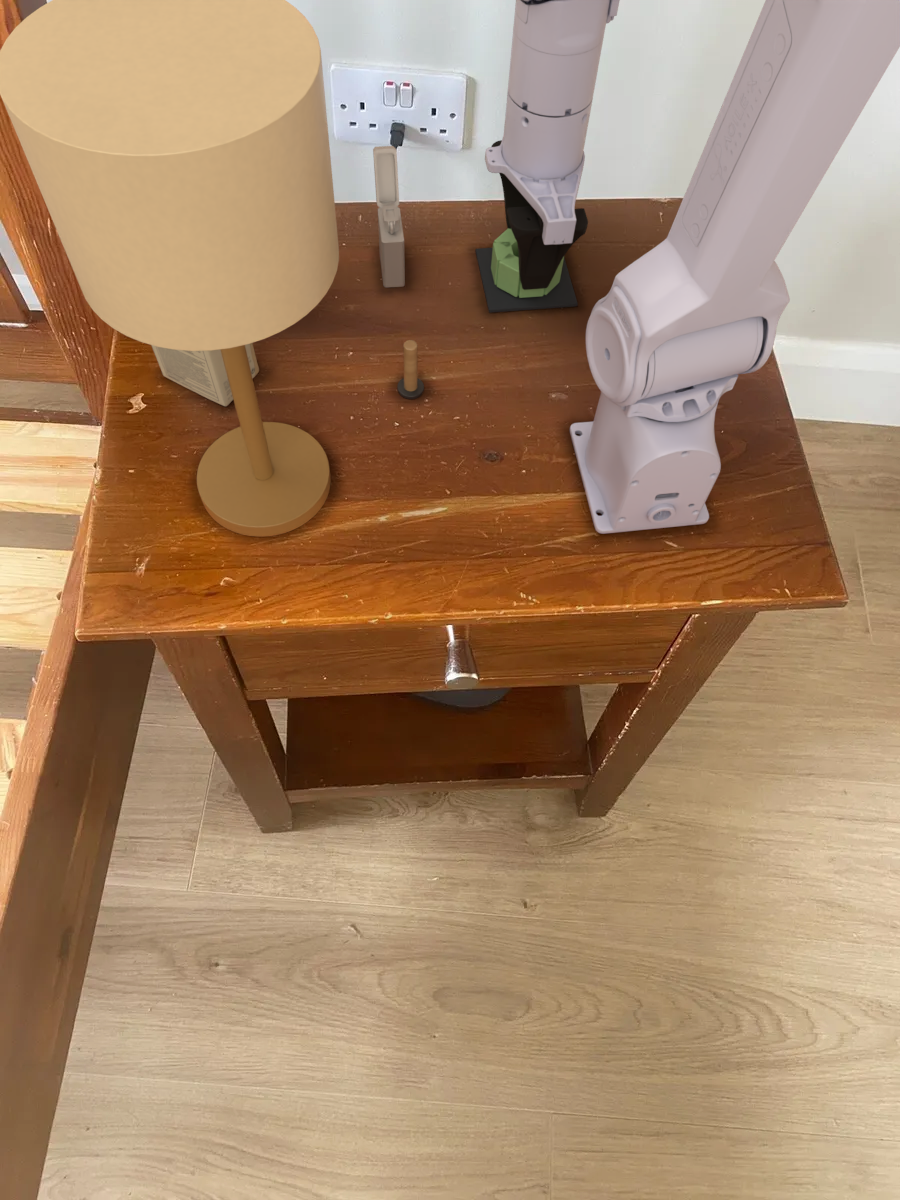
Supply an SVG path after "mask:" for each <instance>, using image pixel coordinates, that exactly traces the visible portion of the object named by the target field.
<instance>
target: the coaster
mask: <svg viewBox="0 0 900 1200" xmlns="http://www.w3.org/2000/svg"><path fill="white" fill-rule="evenodd" d="M492 250H493V247H481V248H479V247H478V248H475V251H474V252H475V256H476V261H477V265H478V269H479V273H480V278H481V283H482V287H483V291H484V292H483V293H484V297H485V300H486V305H487V310H488V313H489V314H490V313H491V314H492V313H502V312H503V313H505V312H516V311H517V312H518V311H531V310H533V311H534V310H544V309H545V310H546V309H558V308H559V309H560V308H572V307H573V308H574V307H578V300H577V296H576V292H575V289H574V286H573V283H572V280H571V275H570V272H569V269H568V265H567V262H566V258H565V257H564V260H563V266H562V271H561V277H560V281H559V283H558V284H557V285H556V286H555V287H554V288H553V289H552V290H551V291H550V292H549V293H548V294H547V295H543V296H541V297H527V298H519V295H518V296H517V297H515V296H513V295H511V294H509V293H507V292H506V291H504V290H502V289H500V288H498V287H497V285H495V284H494V279H493V275H492V271H491V261H492Z"/></svg>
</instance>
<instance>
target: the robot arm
mask: <svg viewBox="0 0 900 1200" xmlns="http://www.w3.org/2000/svg"><path fill="white" fill-rule="evenodd" d="M620 1H621V0H515V5H514V6H515V7H514V17H513V28H512V36H511V37H512V38H511V47H510V48H511V50H510V58H509V69H508V71H509V72H508V82H507V93H506V103H505V116H504V126H503V136H502V139H500V140H497V141H495V142H493V143H492V144H491V146H489V147H487V148H486V149H485V152H484V161H485V166H486V170H487V171H488V172H489V173H491V174H499V177H500V180H501V186H502V192H503V202H504V213H505V221H506V228H507V229H508V228H509V229H512V232H513V234H514V237H515V239H516V241H517V245H518V257H519V275H520V280H521V285H522V288H523V289H524V290H529V289H543V288H547V287H548V286H549V284H550V282H551V280H552V278H553V276H554V274H555V272H556V270H557V268H558V266H559V264H560V262H561V260H562V259H563V257H564V258H565V255H566V254H567V252H568V251H569V249H570V248H571V247H572V246H573V245H574V244H575V243H576V242H577V241H578V240H579V239H580V238H582V237H583V236H584V235H585V234H586V233H587V232H586V231H587V229H588V225H589V219H588V216H587V213H586V209H585V208H583V207H582V208H575V207H576V202H577V199H578V198H577V197H578V193H579V189H580V185H581V180H582V174H583V171H584V166H585V158H586V155H585V151H584V150H585V144H586V138H587V133H588V128H589V122H590V116H591V111H592V106H593V99H594V94H595V89H596V84H597V83H596V82H597V76H598V71H599V65H600V62H601V61H600V60H601V55H602V49H603V43H604V39H605V33H606V26H607V24H609V23H611V21H612V22H613V20H614V19H615V17H616V16H617V15H618V11H619V5H620ZM899 49H900V0H765V1H764V3H763V6H762V8H761V11H760V13H759V15H758V18H757V20H756V22H755V25H754V28H753V29H752V32H751V35H750V37H749V39H748V41H747V44H746V47H745V49H744V52H743V54H742V56H741V59H740V61H739V64H738V66H737V67H736V70H735V73H734V75H733V78H732V80H731V82H730V85H729V86H728V89H727V90H728V91H727V92H726V94H725V97H724V99H723V102H722V105H721V107H720V109H719V112H718V114H717V116H716V118H715V121H714V123H713V126H712V128H711V131H710V133H709V135H708V138H707V140H706V143H705V145H704V148H703V150H702V153H701V155H700V157H699V159H698V161H697V164H696V167H695V169H694V172H693V174H692V176H691V179H690V180H689V184H688V186H687V188H686V191H685V193H684V196H683V198H682V200H681V203H680V205H679V207H678V210H677V213H676V215H675V217H674V220H673V222H672V224H671V227H670V228H669V232H668V234H667V236H666V238H665V239H664V240H663V241H661V242H660V243H658V244H657V245H656V246H655V247H653V248H651V249H650V250H649V251H648V252H645V253H644V254H643V255H642V256H640V257H638V258H637V259H636V260H634V261H633V262H631V263H630V264H628V265H627V266H626V267H625V268H624V269H622V270H620V272H618V273H617V274H616V275H615V277H614V279H613V281H612V285H611V287H610V290H609V291H608V293H607V294H606V295H605V296H604V297H602V298H601V299H598V300H597V301H596V303H595V304H594V306H593V307H592V309H591V312H590V316H589V318H588V320H587V323H586V328H585V350H586V358H587V363H588V366H589V371H590V372H591V375H592V378H593V380H594V383H595V385H596V386H597V388H598V389H599V390H600V394H599V399H598V403H597V406H596V410H595V414H594V417H593V421H581V422H573V423H572V424H571V425H570V426H569V434H570V438H571V443H572V446H573V449H574V453H575V457H576V462H577V465H578V469H579V472H580V477H581V481H582V484H583V488H584V492H585V495H586V500H587V503H588V508H589V512H590V515H591V518H592V523H593V527H594V529H595V532H597V533H598V534H616V533H625V532H634V531H645V530H655V529H663V528H664V529H666V528H675V527H685V526H686V527H687V526H696V525H704V524H707V523H708V521H709V519H710V513H709V510H708V508H707V504H706V502H707V500H708V498H709V495H710V493H711V491H712V489H713V487H714V486H715V483H716V482H717V480H718V477H719V475H720V473H721V468H722V464H721V463H722V462H721V457H720V454H719V449H718V446H717V443H716V435H715V420H716V412H717V409H718V405H719V401H720V399H721V397H722V396H723V395H724V394H725V393H727V392H729V391H732V390H733V389H734V387H735V384H736V382H737V380H738V378H739V375H744V374H752V373H755V372H756V371H758V370H760V369H762V367H763V366H764V365H765V364H766V363H767V361H768V360H769V358H770V357H771V354H772V351H773V348H774V345H775V340H776V335H777V328H778V324H779V322H780V318H781V317H782V315H783V313H784V311H785V309H786V307H788V304H789V303H790V300H791V298H790V295H789V291H788V288H787V285H786V281H785V278H784V276H783V273H782V272H781V269H780V267H779V266H778V264H777V262H776V259H777V257H778V255H779V254H780V252H781V250H782V248H783V247H784V245H785V243H786V241H787V240H788V238H789V236H790V235H791V233H792V231H793V230H794V228H795V227H796V225H797V223H798V221H799V219H800V218H801V216H802V214H803V212H804V211H805V210H806V208H807V206H808V204H809V202H810V200H811V199H812V198H813V195H814V194H815V192H816V191H817V189H818V187H819V185H820V183H821V182H822V180H823V178H824V177H825V175H826V173H827V171H828V170H829V168H830V167H831V165H832V163H833V162H834V160H835V158H836V156H837V154H839V151H840V150H841V148H842V146H843V144H844V143H845V141H846V139H847V138H848V136H849V134H850V133H851V131H852V129H853V127H854V126H855V124H856V122H857V120H858V119H859V117H860V116H861V114H862V112H863V110H864V109H865V107H866V105H867V104H868V102H869V100H870V98H871V96H872V95H873V93H874V92H875V90H876V88H877V87H878V85H879V83H880V81H881V80H882V78H883V76H884V74H885V73H886V71H887V69H888V68H889V66H890V64H891V63H892V61H893V59H894V57H895V55H896V54H897V52H898V51H899ZM507 229H506V230H507ZM598 514H600V515H598Z"/></svg>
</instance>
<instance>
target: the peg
mask: <svg viewBox="0 0 900 1200" xmlns="http://www.w3.org/2000/svg"><path fill="white" fill-rule="evenodd" d="M402 347H403V350H402V351H403V355H402V356H403V378H401V379H400V380H399V381H398V383H397V385H396V389H397V393H398V395H400V397H402V398H403V399H407V400H414V399H417V398H420V397H421V396H422V395H423V394H424V392H425V384H424V382H423V381H422V380H421V378H419V377H418V357H419V356H418V351H419V350H418V349H419V348H418V343H417V342H416V341H415V340H413V339H408V340H406V341H404V342H403V344H402Z"/></svg>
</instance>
